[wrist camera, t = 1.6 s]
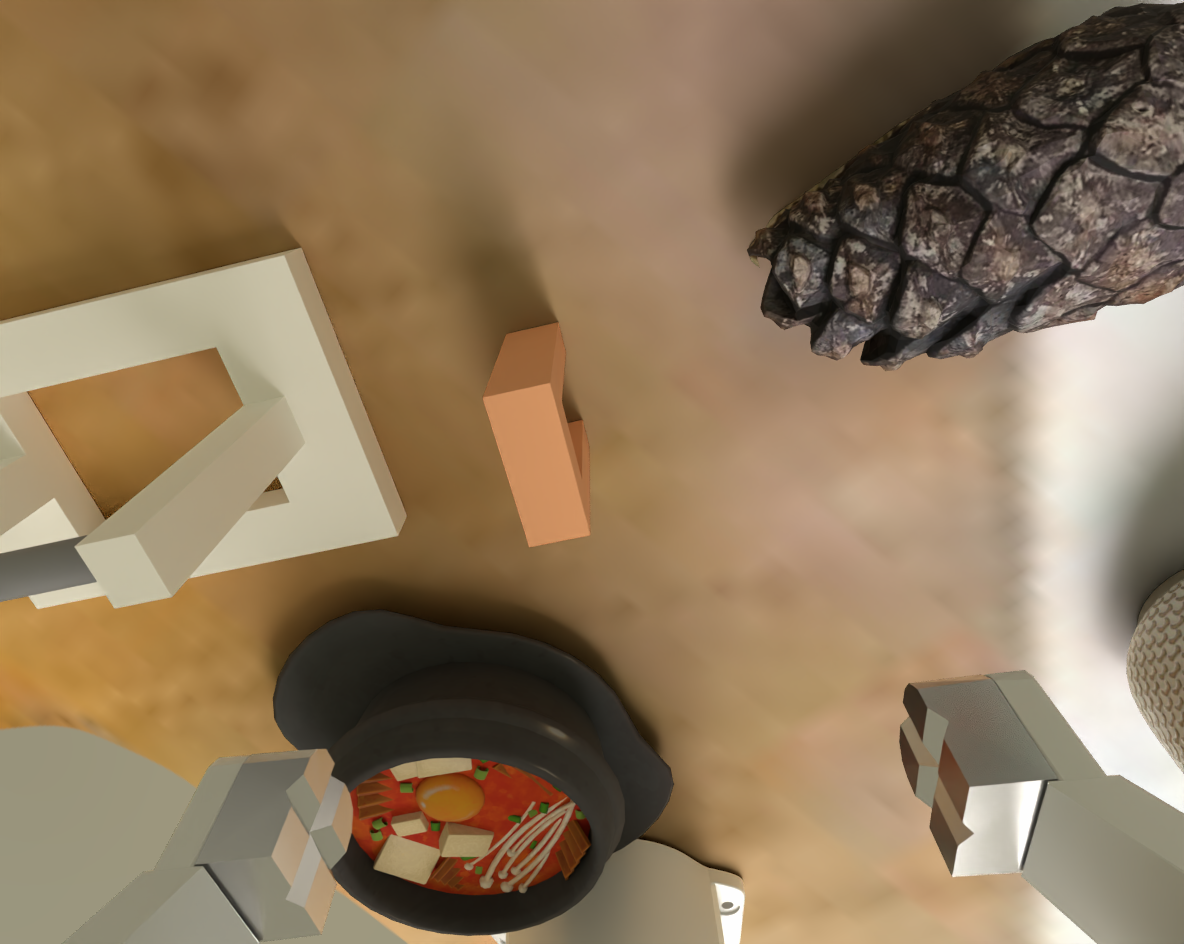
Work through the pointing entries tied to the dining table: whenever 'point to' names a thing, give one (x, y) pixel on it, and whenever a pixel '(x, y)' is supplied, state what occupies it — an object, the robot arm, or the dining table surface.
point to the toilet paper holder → (211, 468)
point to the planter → (1161, 665)
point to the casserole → (469, 768)
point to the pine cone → (999, 203)
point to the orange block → (539, 436)
